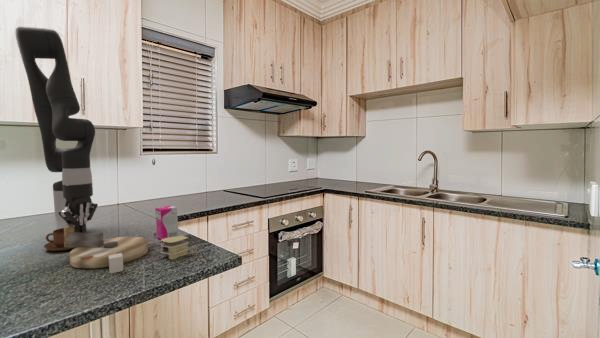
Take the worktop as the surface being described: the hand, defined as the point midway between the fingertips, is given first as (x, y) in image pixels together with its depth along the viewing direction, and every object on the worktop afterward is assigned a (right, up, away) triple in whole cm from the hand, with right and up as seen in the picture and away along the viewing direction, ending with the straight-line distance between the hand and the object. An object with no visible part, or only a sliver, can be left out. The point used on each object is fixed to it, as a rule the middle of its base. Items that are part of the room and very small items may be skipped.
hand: (80, 235), depth 94 cm
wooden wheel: (+10, -5, -4) cm, 12 cm away
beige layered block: (+32, -6, -4) cm, 33 cm away
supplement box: (+22, -4, +13) cm, 26 cm away
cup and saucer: (-8, -5, +5) cm, 10 cm away
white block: (+21, -6, -15) cm, 26 cm away
